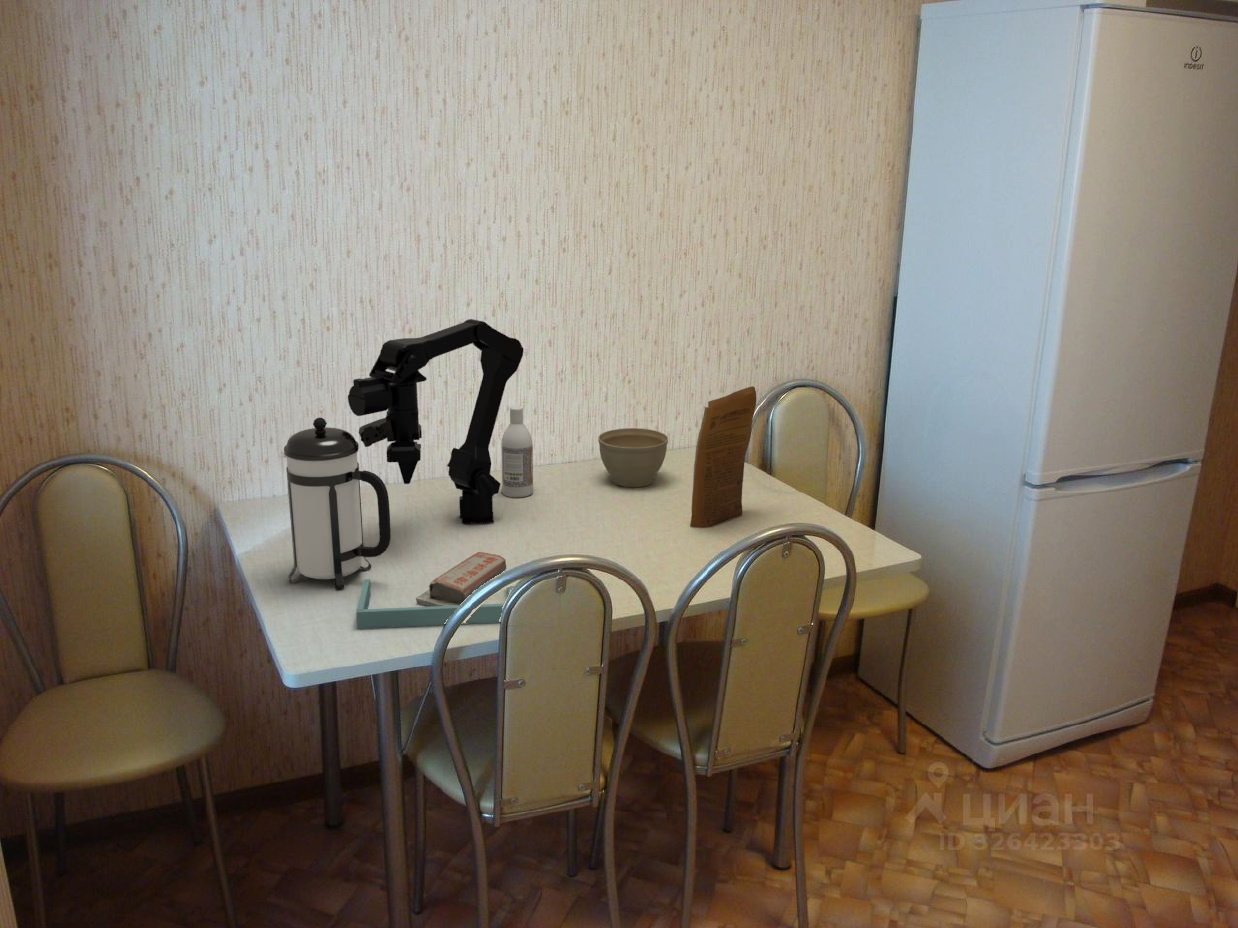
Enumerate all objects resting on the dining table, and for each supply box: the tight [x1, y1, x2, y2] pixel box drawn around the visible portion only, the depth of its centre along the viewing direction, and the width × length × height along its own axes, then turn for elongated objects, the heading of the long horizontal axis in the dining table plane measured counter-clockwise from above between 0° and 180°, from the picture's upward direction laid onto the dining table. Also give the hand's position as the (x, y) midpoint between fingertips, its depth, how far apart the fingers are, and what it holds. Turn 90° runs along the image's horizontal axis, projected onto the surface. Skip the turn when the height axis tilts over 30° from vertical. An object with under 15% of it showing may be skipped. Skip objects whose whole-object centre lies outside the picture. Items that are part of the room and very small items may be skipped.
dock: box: [355, 578, 515, 630], centre depth 186 cm, size 26×14×3 cm, turn 97°
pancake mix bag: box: [689, 386, 757, 529], centre depth 227 cm, size 7×19×28 cm, turn 134°
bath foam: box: [500, 405, 534, 499], centre depth 242 cm, size 7×7×20 cm
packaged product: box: [415, 551, 507, 607], centre depth 194 cm, size 18×5×10 cm
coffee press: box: [283, 417, 392, 591], centre depth 195 cm, size 17×16×30 cm
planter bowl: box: [597, 427, 669, 488], centre depth 253 cm, size 16×16×11 cm
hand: (406, 483), depth 214 cm, fingers closed
